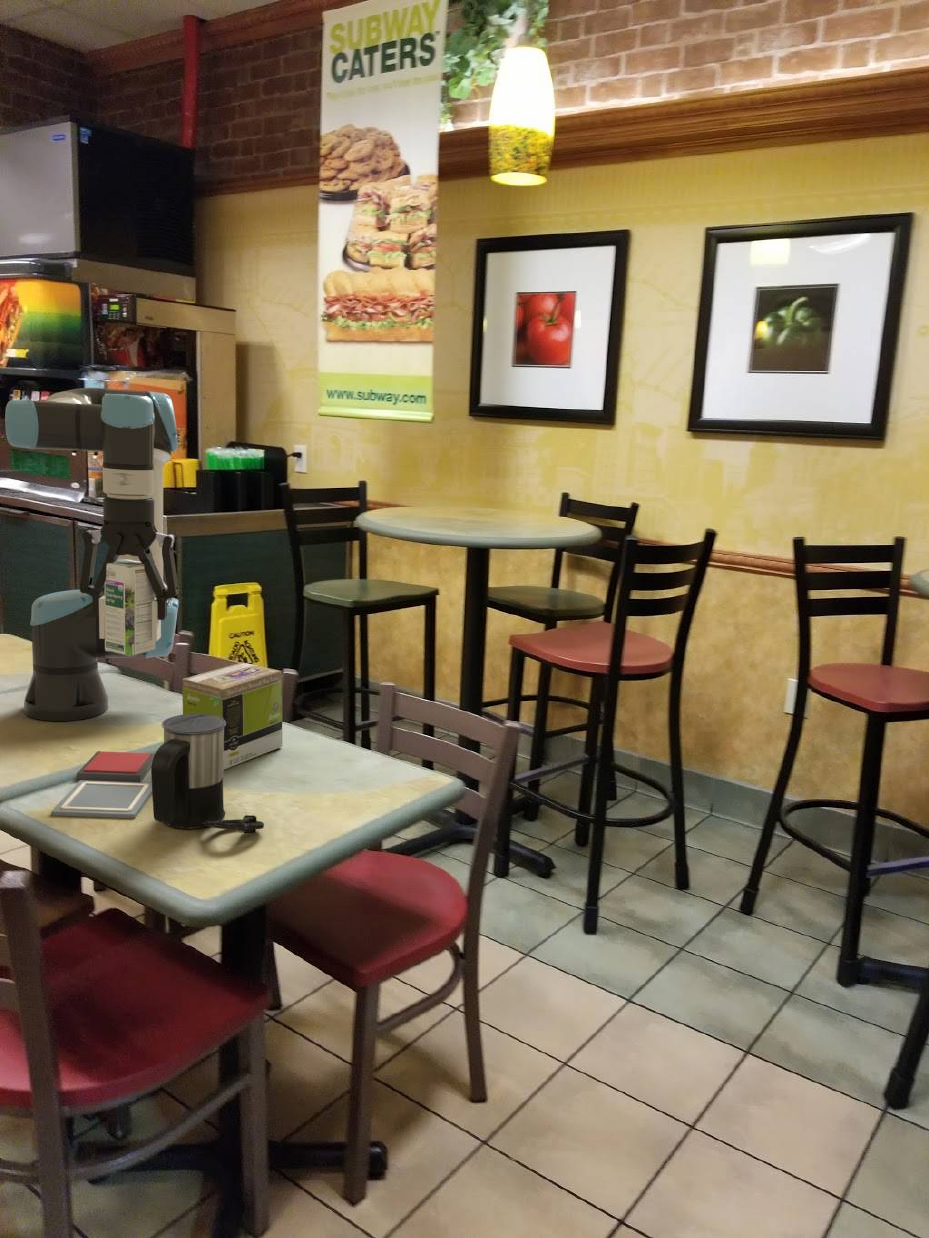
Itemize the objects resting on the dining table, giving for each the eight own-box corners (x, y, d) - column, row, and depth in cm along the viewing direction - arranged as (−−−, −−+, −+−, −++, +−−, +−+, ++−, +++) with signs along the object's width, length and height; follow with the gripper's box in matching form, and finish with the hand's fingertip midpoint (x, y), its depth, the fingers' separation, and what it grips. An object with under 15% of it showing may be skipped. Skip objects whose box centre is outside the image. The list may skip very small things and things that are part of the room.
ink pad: (97, 757, 158) (97, 749, 158) (157, 760, 159) (157, 751, 159) (76, 779, 149) (76, 771, 148) (140, 782, 149) (140, 773, 149)
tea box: (242, 736, 174) (243, 660, 170) (283, 748, 169) (285, 670, 166) (180, 758, 161) (180, 676, 158) (222, 772, 156) (223, 687, 153)
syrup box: (103, 651, 148) (101, 561, 145) (131, 643, 154) (130, 557, 150) (129, 657, 146) (128, 566, 143) (157, 649, 151) (156, 562, 148)
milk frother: (170, 803, 142) (169, 711, 139) (273, 806, 143) (275, 715, 140) (144, 844, 128) (143, 743, 125) (259, 848, 130) (260, 748, 126)
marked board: (80, 783, 147) (79, 779, 147) (156, 786, 148) (156, 782, 148) (51, 815, 135) (51, 810, 135) (134, 818, 136) (134, 813, 136)
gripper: (52, 494, 140) (57, 640, 145) (190, 502, 142) (190, 646, 147) (69, 489, 147) (73, 629, 152) (200, 497, 149) (199, 635, 154)
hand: (130, 637), depth 149 cm, fingers closed on syrup box, 7 cm apart
